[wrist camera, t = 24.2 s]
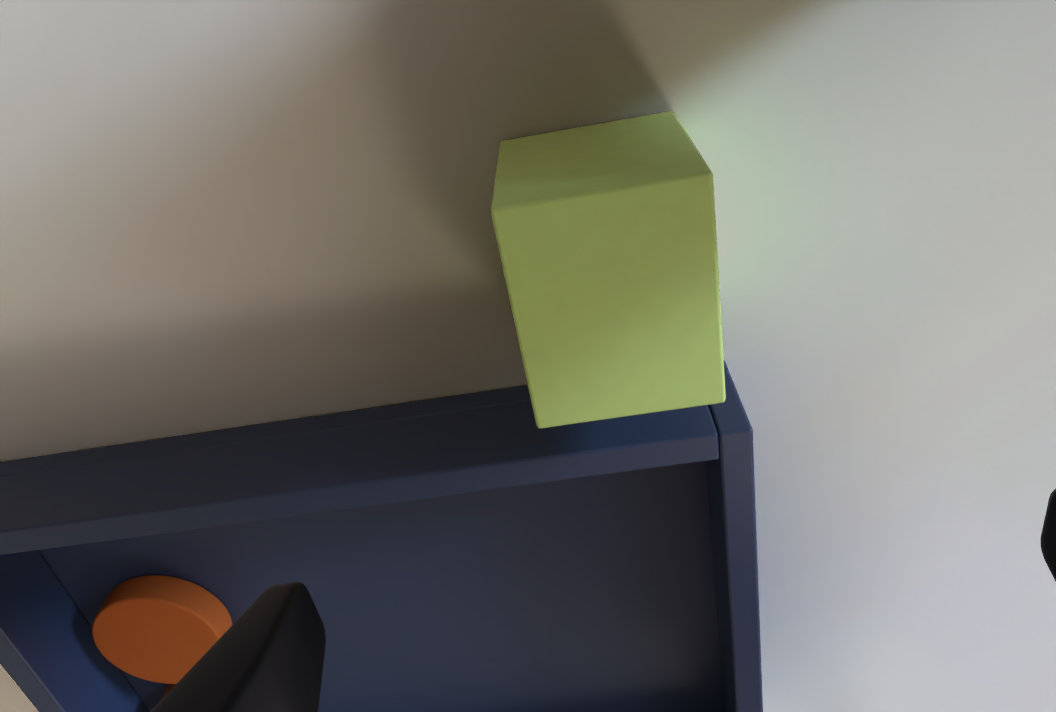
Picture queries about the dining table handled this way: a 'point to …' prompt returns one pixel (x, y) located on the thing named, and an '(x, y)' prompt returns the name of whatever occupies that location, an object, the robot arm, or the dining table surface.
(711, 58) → the dining table surface
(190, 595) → the orange flat cylinder
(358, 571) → the tray
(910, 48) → the dining table surface
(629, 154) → the sponge
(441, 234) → the dining table surface
